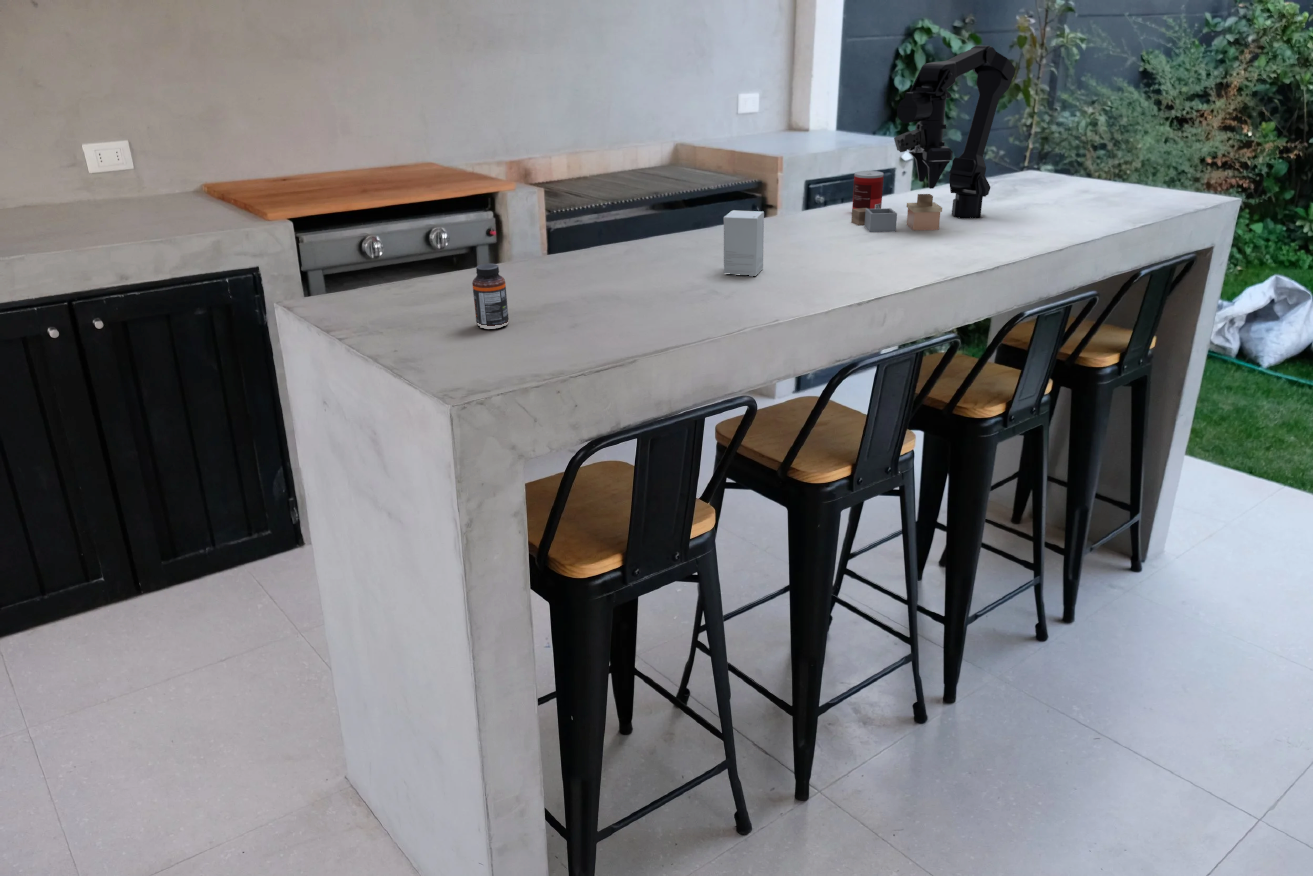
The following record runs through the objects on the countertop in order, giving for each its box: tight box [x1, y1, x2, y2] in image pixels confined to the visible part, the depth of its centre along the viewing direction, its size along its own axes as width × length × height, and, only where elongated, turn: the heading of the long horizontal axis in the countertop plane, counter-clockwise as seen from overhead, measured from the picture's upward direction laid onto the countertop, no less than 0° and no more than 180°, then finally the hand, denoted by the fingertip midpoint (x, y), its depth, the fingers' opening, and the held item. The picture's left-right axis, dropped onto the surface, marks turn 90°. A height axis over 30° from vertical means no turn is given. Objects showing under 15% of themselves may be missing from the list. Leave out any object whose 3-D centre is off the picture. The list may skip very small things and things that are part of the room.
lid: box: [906, 193, 943, 213], centre depth 246 cm, size 7×7×4 cm
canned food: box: [851, 170, 885, 210], centre depth 264 cm, size 8×8×11 cm
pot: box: [906, 208, 941, 231], centre depth 248 cm, size 6×6×5 cm
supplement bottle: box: [472, 263, 510, 326], centre depth 181 cm, size 6×6×11 cm
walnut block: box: [850, 208, 868, 226], centre depth 253 cm, size 4×4×4 cm
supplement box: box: [722, 209, 765, 277], centre depth 212 cm, size 7×7×13 cm
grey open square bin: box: [863, 207, 898, 233], centre depth 247 cm, size 6×6×5 cm
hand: (926, 184), depth 245 cm, fingers open, 9 cm apart
